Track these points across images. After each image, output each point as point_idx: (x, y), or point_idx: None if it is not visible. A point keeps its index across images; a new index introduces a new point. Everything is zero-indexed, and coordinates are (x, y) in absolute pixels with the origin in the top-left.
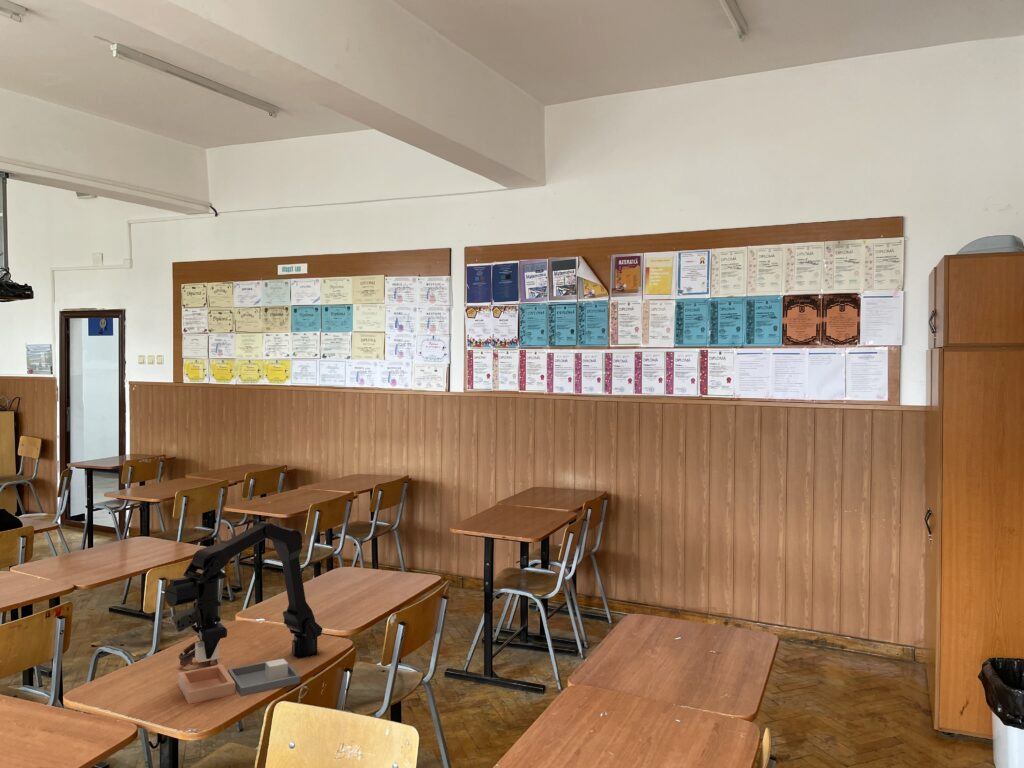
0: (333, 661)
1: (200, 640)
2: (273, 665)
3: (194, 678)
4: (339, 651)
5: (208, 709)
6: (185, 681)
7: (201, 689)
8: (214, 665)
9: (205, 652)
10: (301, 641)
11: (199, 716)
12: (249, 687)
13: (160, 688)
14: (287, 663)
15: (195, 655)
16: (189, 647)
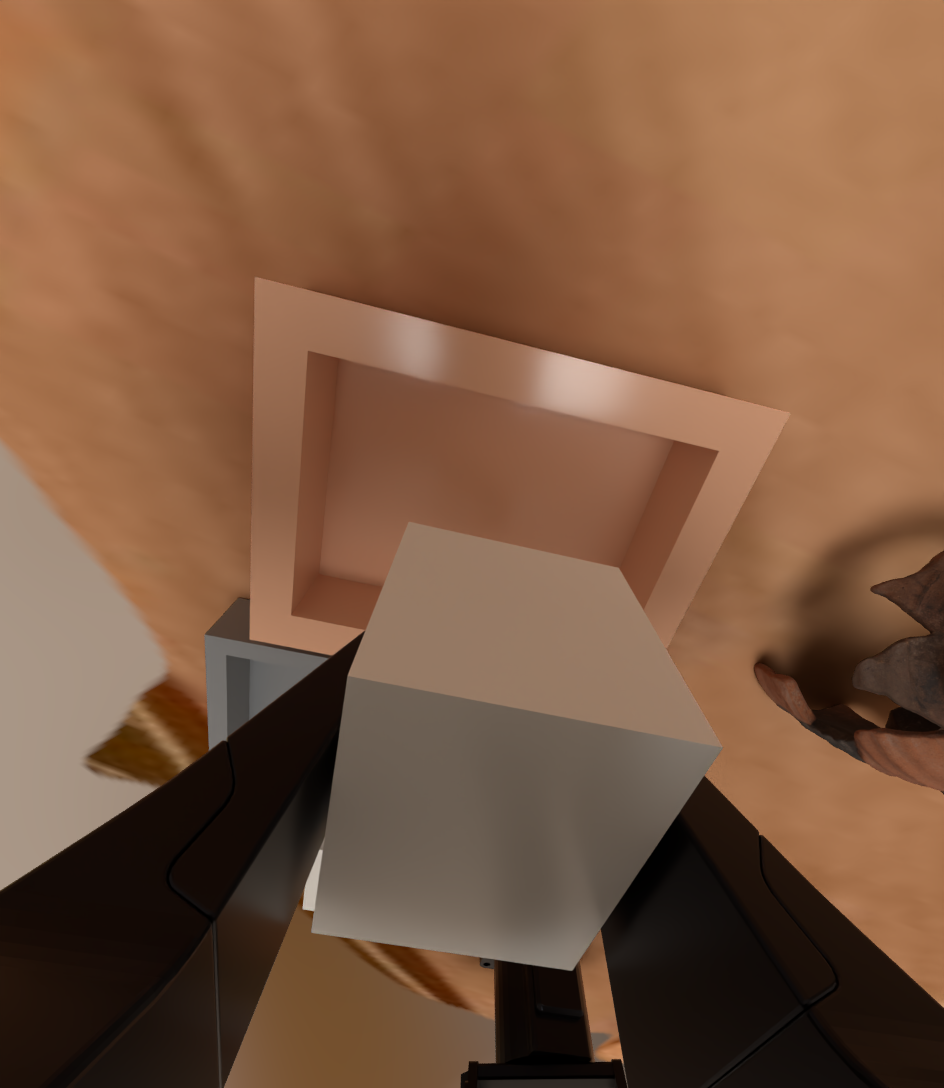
0: (397, 959)
1: (701, 849)
2: (318, 865)
3: (660, 508)
4: (470, 997)
5: (173, 382)
6: (539, 375)
7: (263, 406)
8: (770, 688)
9: (313, 682)
10: (518, 1028)
11: (77, 273)
12: (210, 672)
13: (807, 259)
14: (303, 907)
15: (605, 581)
16: None
